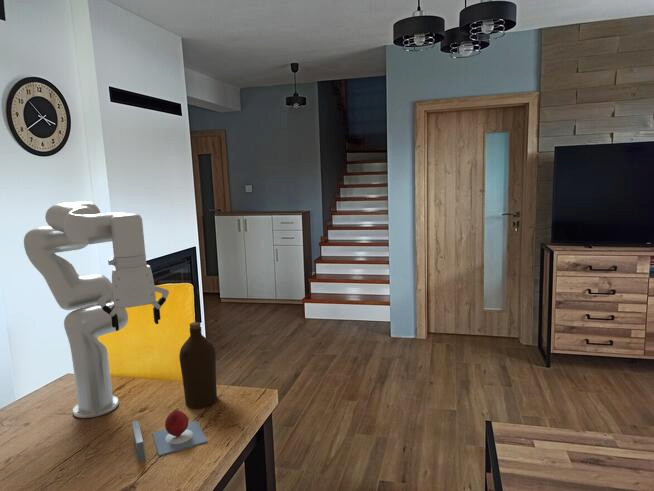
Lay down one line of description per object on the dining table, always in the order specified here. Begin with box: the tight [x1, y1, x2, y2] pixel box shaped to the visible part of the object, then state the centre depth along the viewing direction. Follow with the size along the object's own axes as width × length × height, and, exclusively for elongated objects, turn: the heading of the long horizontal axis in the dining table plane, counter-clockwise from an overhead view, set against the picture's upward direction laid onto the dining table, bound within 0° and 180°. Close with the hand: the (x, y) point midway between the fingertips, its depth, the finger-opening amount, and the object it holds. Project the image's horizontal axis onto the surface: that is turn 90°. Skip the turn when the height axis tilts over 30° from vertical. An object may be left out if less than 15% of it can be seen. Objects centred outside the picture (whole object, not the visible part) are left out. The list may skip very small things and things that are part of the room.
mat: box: [152, 420, 208, 457], centre depth 124 cm, size 12×12×1 cm
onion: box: [164, 406, 189, 437], centre depth 123 cm, size 6×6×8 cm
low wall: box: [131, 420, 146, 463], centre depth 119 cm, size 12×2×5 cm, turn 28°
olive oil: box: [179, 321, 218, 409], centre depth 142 cm, size 11×11×25 cm
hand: (137, 326), depth 122 cm, fingers open, 9 cm apart
